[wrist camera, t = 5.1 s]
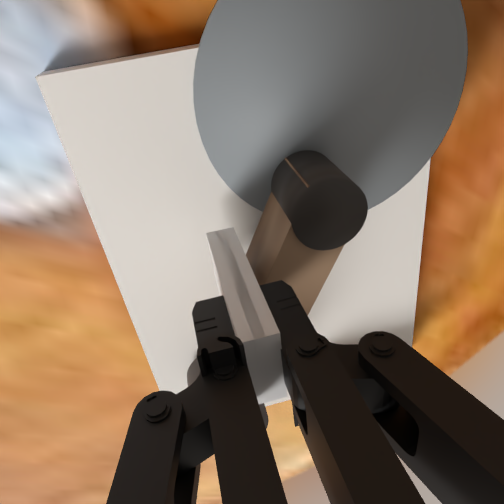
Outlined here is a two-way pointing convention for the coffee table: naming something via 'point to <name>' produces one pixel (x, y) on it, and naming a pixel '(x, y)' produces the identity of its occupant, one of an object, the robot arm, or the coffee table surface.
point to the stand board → (263, 153)
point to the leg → (303, 229)
